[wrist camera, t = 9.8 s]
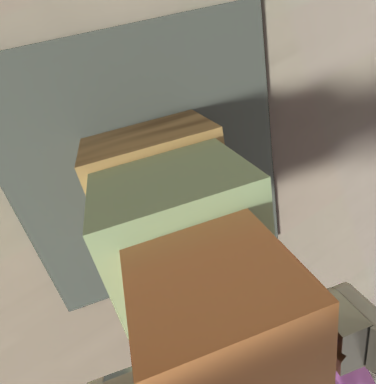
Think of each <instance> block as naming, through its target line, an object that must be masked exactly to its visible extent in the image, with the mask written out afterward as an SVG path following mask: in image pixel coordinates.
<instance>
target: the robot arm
mask: <svg viewBox="0 0 376 384" xmlns="http://www.w3.org/2000/svg"><path fill="white" fill-rule="evenodd" d="M327 290H328V291H329V292H330V293H331V294H332V295H333V296H334V297H335V298H336V299H337V300H338V301H339V319H338V339H337V359H336V371H337V373H338V374H339V375H340V376H343V375H345V374H348V373H350V372H352V371H355V370H357V369H360V368H362V367H365V368H366V369H368V370H369V371H371V372H373V373H375V374H376V307H375V306H374V305H373V304H372V303H371V302H370V301H369V300H368V299H366V298H365V297H364V296H363V295H362V294H361V293H360V292H359V291H357V290H356V289H355V288H354V287H353V286H352V285H351V284H349V283H347V282H344V283H341V284H339V285H336V286H334V287H332V288H327ZM87 384H134V381H133V372H132V366H131V367H128V368H125V369H123V370H120V371H117V372H115V373H112V374H109V375H107V376H103V377H101V378H98V379H96V380H93V381H91V382H88V383H87Z"/></svg>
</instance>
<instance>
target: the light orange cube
mask: <svg viewBox="0 0 376 384" xmlns="http://www.w3.org/2000/svg"><path fill="white" fill-rule="evenodd" d="M119 253H120V262H121V271H122V280H123V289H124V299H125V308H126V317H127V326H128V335H129V344H130V353H131V362H132V372H133V381H134V384H335V378H336V359H337V339H338V319H339V301H338V300H337V299H336V298H335V297H334V296H333V295H332V294H331V293H330V292H329V291H328V290H327V289H326V288H325V287H324V286H323V285H322V284H321V282H320V281H319V280H318V279H317V278H316V277H315V276H314V275H313V274H312V273H311V272H310V271H309V270H308V269H307V268H306V267H305V266H304V265H303V264H302V263H301V262H300V261H299V260H298V259H297V258H296V257H295V256H294V255H293V254H292V253H291V252H290V251H289V250H288V249H287V248H286V247H285V246H284V245H283V244H282V243H281V242H280V241H279V240H278V239H277V238H276V237H275V236H274V235H273V234H272V232H271V231H270V230H269V229H268V228H267V227H266V226H265V225H264V224H263V223H262V222H261V221H260V220H259V219H258V218H257V217H256V216H255V215H254V214H253V213H252V212H251V211H250V210H249V209H248V208H246V209H243V210H240V211H237V212H234V213H231V214H228V215H225V216H222V217H219V218H216V219H213V220H210V221H207V222H204V223H201V224H197V225H194V226H191V227H188V228H185V229H182V230H179V231H176V232H173V233H170V234H167V235H164V236H161V237H158V238H155V239H152V240H149V241H146V242H143V243H140V244H137V245H134V246H130V247H127V248H124V249H121V250H119Z"/></svg>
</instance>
